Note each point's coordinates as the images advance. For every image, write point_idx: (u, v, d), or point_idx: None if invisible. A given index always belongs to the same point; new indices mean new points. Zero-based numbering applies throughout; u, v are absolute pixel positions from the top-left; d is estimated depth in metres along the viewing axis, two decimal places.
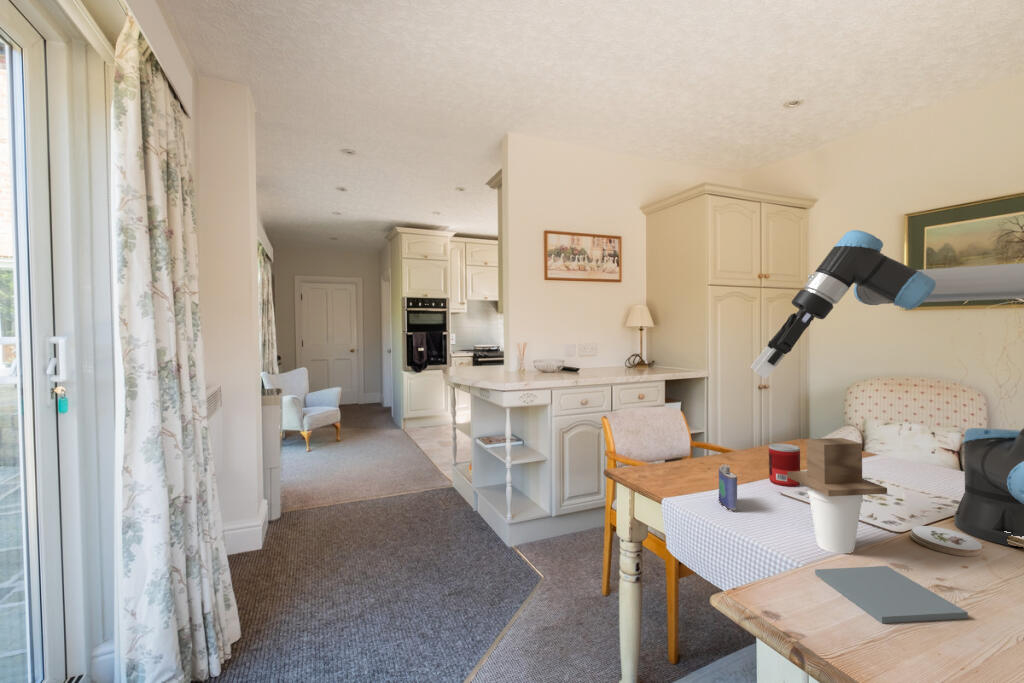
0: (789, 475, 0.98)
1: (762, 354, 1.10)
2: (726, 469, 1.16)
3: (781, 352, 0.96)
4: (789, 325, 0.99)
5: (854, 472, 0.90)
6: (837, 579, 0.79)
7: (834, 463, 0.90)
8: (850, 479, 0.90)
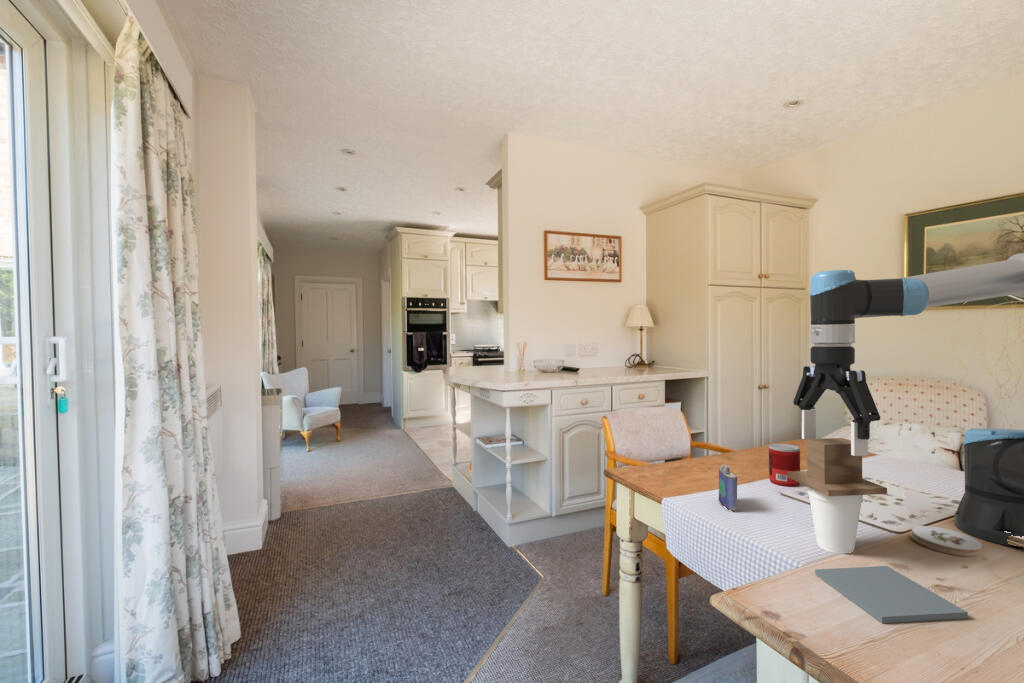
0: (789, 475, 0.98)
1: (805, 420, 0.99)
2: (726, 469, 1.16)
3: (868, 423, 0.84)
4: (841, 389, 0.89)
5: (854, 472, 0.90)
6: (837, 579, 0.79)
7: (834, 463, 0.90)
8: (850, 479, 0.90)
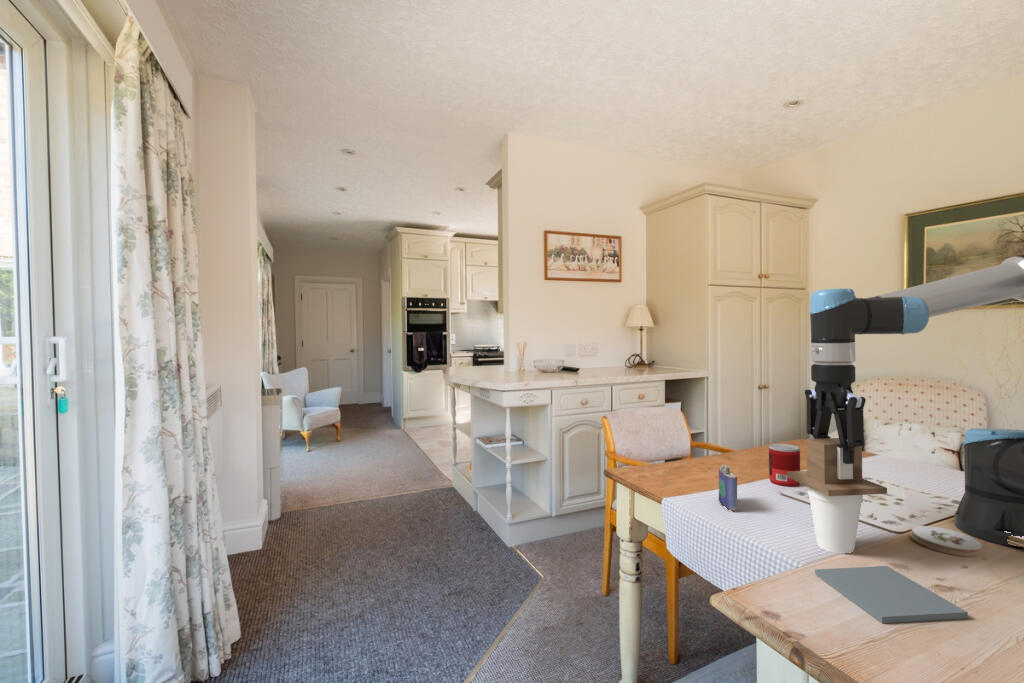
0: (789, 475, 0.98)
1: None
2: (726, 469, 1.16)
3: (852, 448, 0.88)
4: (837, 411, 0.90)
5: (854, 472, 0.90)
6: (837, 579, 0.79)
7: (834, 463, 0.90)
8: (850, 479, 0.90)
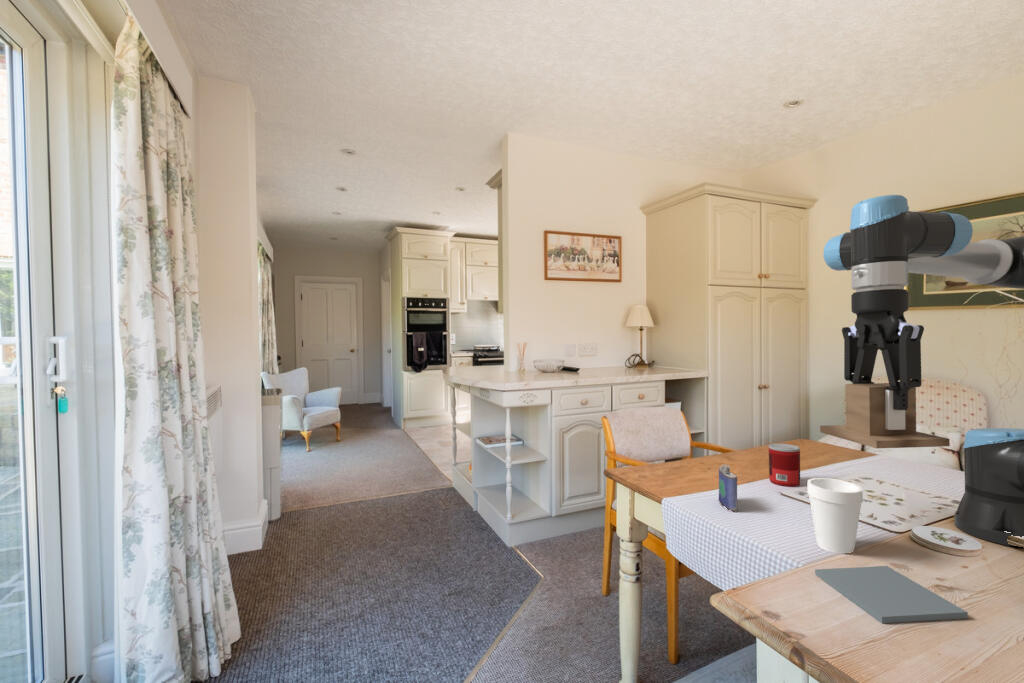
0: (823, 429, 0.81)
1: None
2: (726, 469, 1.16)
3: (906, 390, 0.71)
4: (886, 346, 0.73)
5: (906, 421, 0.73)
6: (837, 579, 0.79)
7: (881, 410, 0.73)
8: (901, 430, 0.73)
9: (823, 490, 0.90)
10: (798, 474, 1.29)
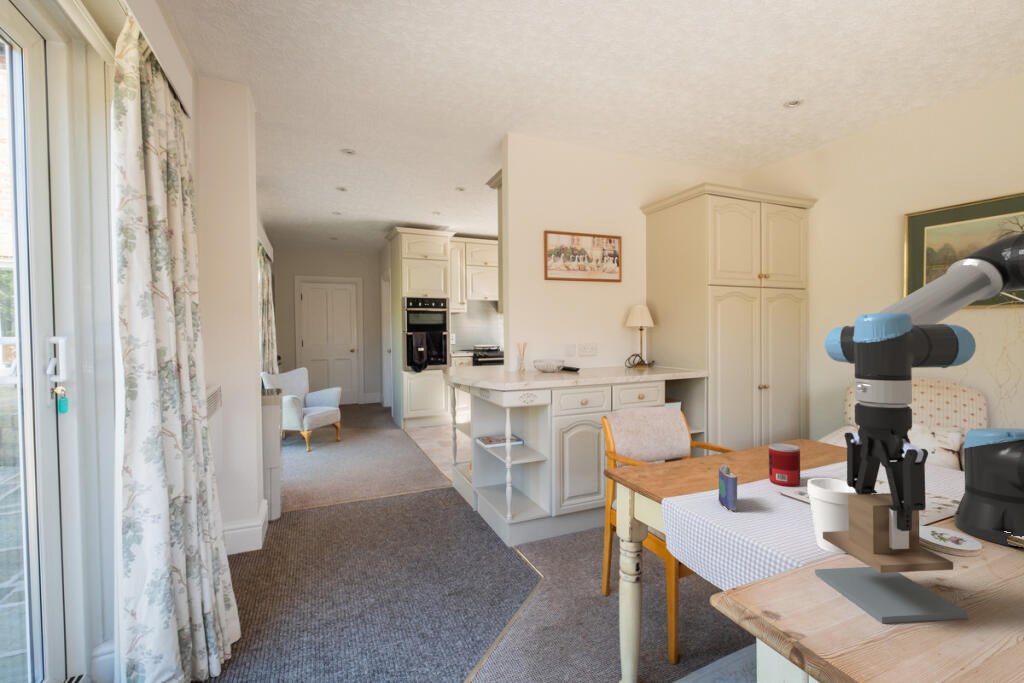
0: (825, 537, 0.80)
1: None
2: (726, 469, 1.16)
3: (910, 511, 0.71)
4: (889, 464, 0.73)
5: (909, 539, 0.73)
6: (837, 579, 0.79)
7: (885, 528, 0.73)
8: None
9: (823, 490, 0.90)
10: (798, 474, 1.29)
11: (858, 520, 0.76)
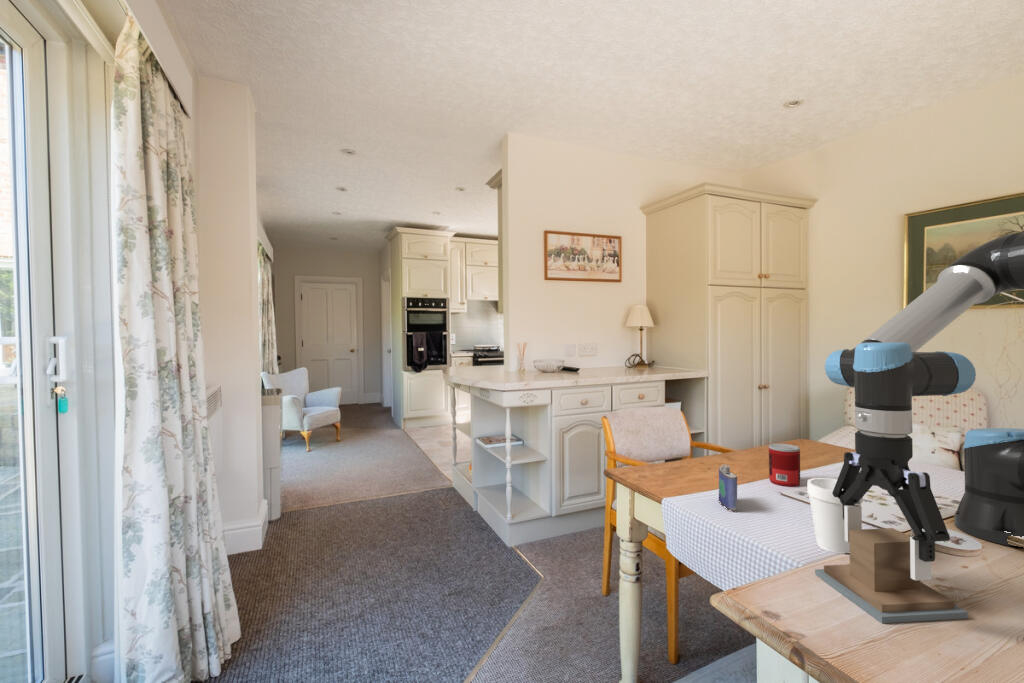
0: (827, 570, 0.81)
1: (849, 519, 0.82)
2: (726, 469, 1.16)
3: (933, 541, 0.67)
4: (896, 492, 0.72)
5: (910, 576, 0.73)
6: None
7: (886, 566, 0.73)
8: (906, 585, 0.73)
9: (823, 490, 0.90)
10: (798, 474, 1.29)
11: (859, 556, 0.76)
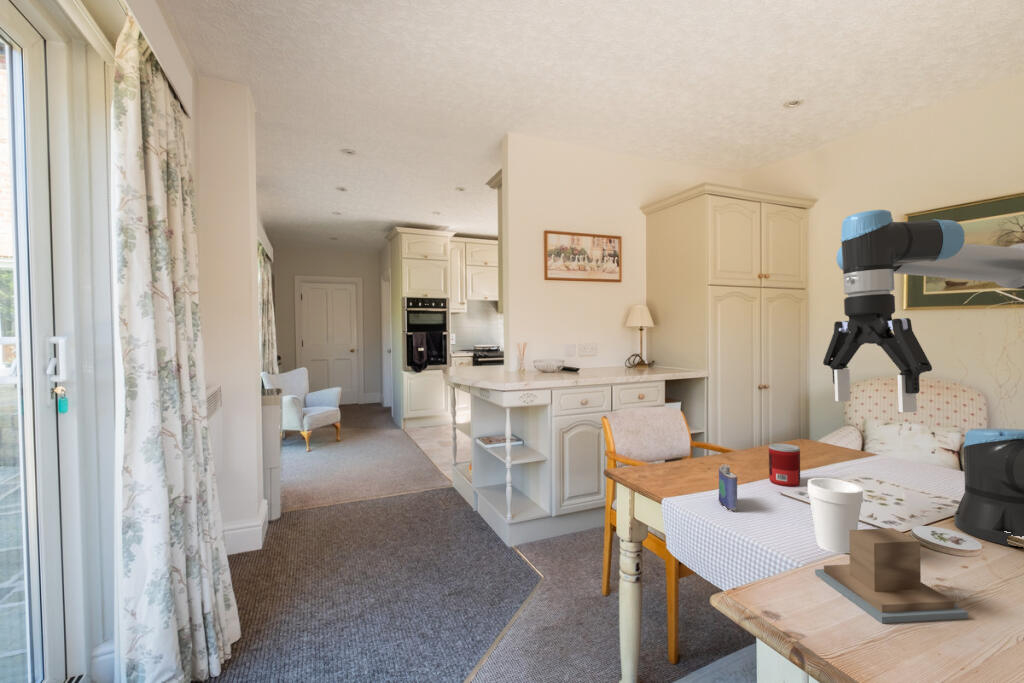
0: (827, 570, 0.81)
1: (839, 380, 0.91)
2: (726, 469, 1.16)
3: (917, 375, 0.76)
4: (883, 340, 0.80)
5: (910, 576, 0.73)
6: None
7: (886, 566, 0.73)
8: (906, 585, 0.73)
9: (823, 490, 0.90)
10: (798, 474, 1.29)
11: (859, 556, 0.76)
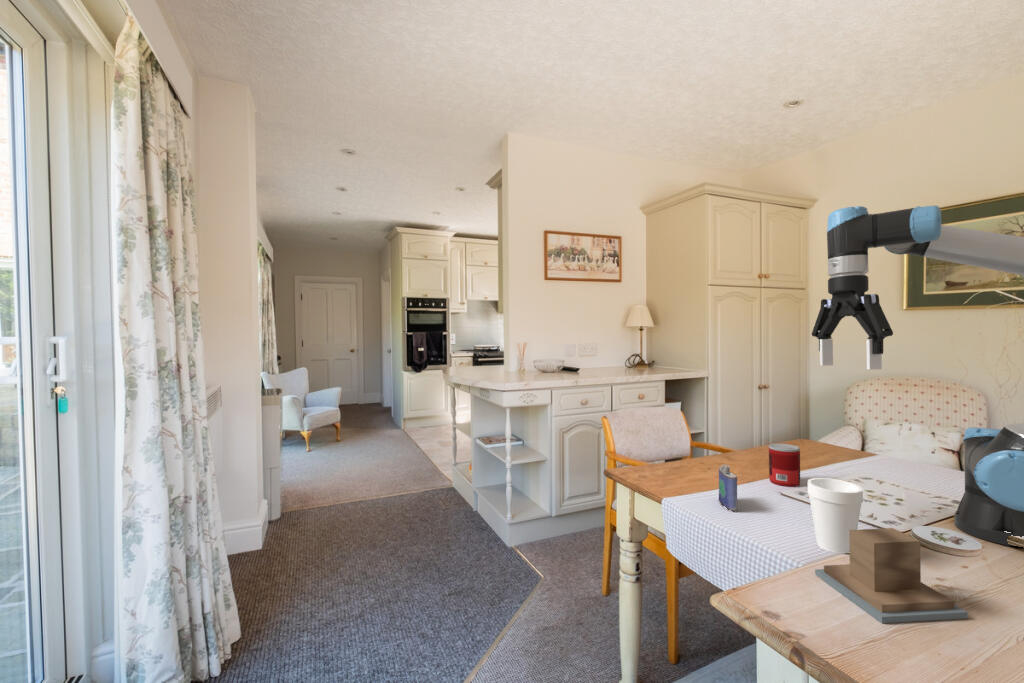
0: (827, 570, 0.81)
1: (823, 348, 1.09)
2: (726, 469, 1.16)
3: (881, 339, 0.95)
4: (856, 312, 0.99)
5: (910, 576, 0.73)
6: None
7: (886, 566, 0.73)
8: (906, 585, 0.73)
9: (823, 490, 0.90)
10: (798, 474, 1.29)
11: (859, 556, 0.76)
